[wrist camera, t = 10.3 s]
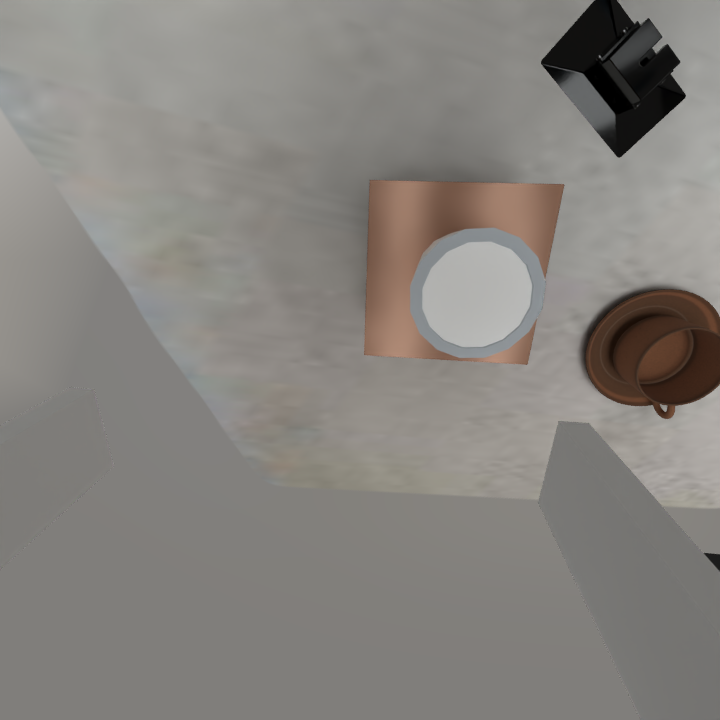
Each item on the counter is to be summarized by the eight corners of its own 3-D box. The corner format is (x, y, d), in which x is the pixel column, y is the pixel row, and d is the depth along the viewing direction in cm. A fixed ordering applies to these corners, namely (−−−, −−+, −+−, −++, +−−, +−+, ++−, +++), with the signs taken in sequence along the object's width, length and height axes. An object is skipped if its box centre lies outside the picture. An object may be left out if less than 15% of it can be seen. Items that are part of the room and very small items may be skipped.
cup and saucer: (722, 364, 39) (779, 391, 33) (602, 415, 42) (634, 447, 36) (687, 261, 35) (742, 271, 30) (560, 324, 39) (587, 345, 33)
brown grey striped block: (511, 192, 35) (564, 184, 23) (490, 320, 39) (527, 364, 28) (379, 188, 35) (369, 180, 24) (373, 314, 40) (364, 355, 29)
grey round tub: (493, 331, 27) (522, 369, 21) (398, 315, 27) (397, 348, 21) (522, 231, 25) (567, 239, 18) (417, 214, 25) (424, 216, 18)
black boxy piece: (698, 103, 31) (748, 86, 27) (614, 180, 34) (647, 177, 30) (600, -32, 29) (638, -76, 24) (517, 62, 31) (538, 38, 27)
